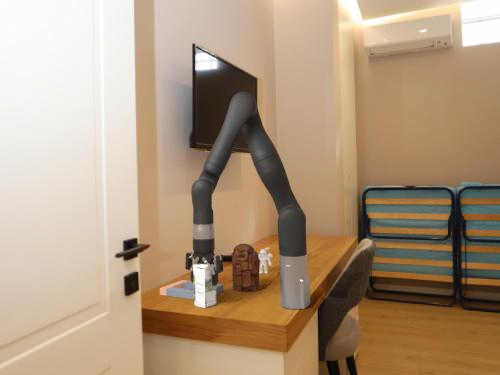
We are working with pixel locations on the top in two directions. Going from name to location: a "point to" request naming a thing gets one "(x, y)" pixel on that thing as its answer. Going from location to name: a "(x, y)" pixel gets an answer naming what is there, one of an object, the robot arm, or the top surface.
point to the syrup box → (204, 287)
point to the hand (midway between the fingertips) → (204, 283)
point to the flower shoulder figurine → (264, 260)
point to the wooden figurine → (245, 268)
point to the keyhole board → (183, 289)
